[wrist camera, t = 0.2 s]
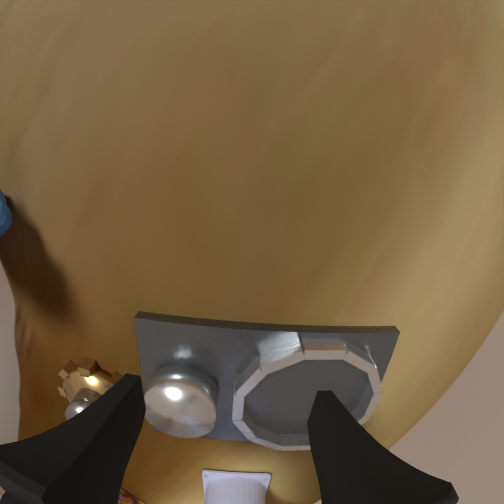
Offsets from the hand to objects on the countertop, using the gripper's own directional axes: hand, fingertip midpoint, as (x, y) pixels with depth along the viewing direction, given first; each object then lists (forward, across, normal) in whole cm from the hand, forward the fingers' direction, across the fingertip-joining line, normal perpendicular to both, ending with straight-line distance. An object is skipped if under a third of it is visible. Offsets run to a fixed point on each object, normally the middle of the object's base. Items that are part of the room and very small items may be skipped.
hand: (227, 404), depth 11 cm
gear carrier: (+10, -3, +8) cm, 13 cm away
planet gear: (+10, +13, +12) cm, 20 cm away
